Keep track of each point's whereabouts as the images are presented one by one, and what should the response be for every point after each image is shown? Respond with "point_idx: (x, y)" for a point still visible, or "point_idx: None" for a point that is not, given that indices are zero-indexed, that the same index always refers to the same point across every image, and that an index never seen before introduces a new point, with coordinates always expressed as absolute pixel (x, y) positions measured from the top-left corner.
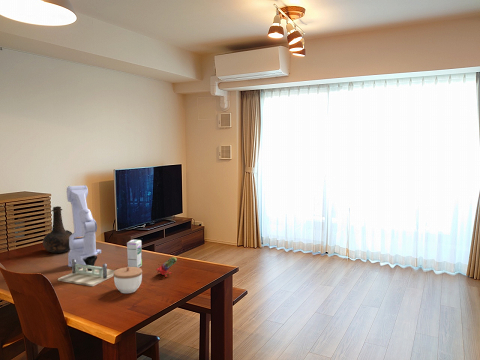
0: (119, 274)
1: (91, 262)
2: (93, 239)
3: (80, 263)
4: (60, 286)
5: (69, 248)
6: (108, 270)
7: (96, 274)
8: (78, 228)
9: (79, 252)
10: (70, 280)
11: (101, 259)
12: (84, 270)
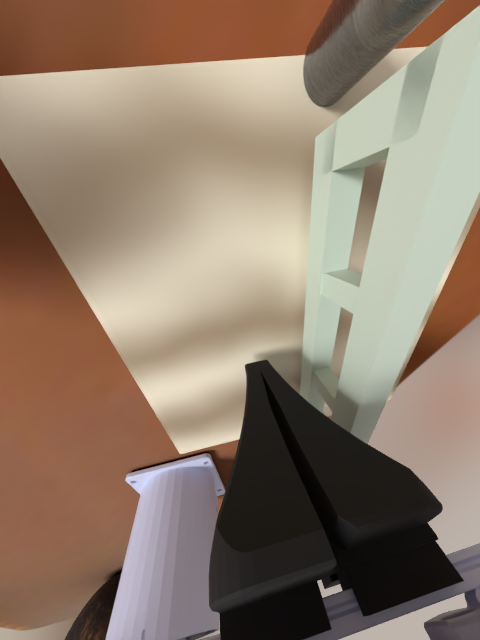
0: None
1: (332, 433)
2: None
3: (198, 488)
4: (461, 321)
5: (112, 592)
6: (113, 281)
7: (348, 222)
8: None
9: (198, 618)
10: (418, 335)
11: (29, 500)
12: (334, 375)
